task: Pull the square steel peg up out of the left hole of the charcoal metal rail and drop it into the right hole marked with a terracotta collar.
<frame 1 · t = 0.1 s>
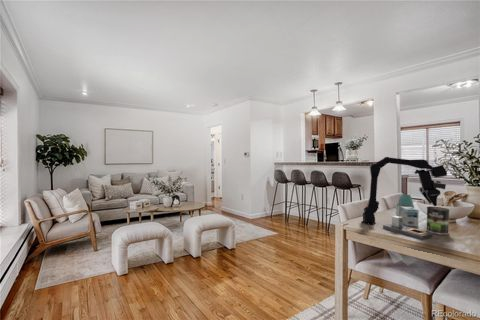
hand: (433, 204, 147), 15 cm above the table, tool pointing down, fingers open, 9 cm apart
light bulb box: (408, 224, 159), on the table
steel peg: (397, 229, 147), resting in rail
rail: (406, 232, 142), on the table
coffee can: (437, 232, 143), on the table
vase: (405, 219, 171), on the table
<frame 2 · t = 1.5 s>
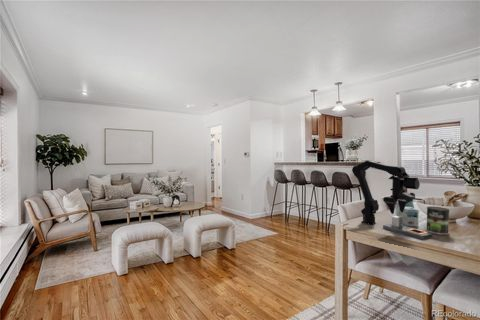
hand: (397, 213, 146), 10 cm above the table, tool pointing down, fingers open, 9 cm apart
nothing on the table moved.
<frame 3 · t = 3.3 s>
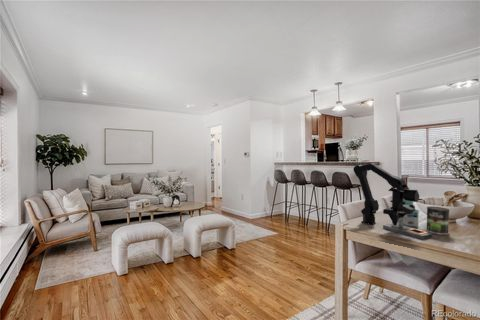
hand: (397, 224, 146), 3 cm above the table, tool pointing down, fingers closed on steel peg, 4 cm apart
steel peg: (397, 229, 147), resting in rail, touching gripper
everything else where it was.
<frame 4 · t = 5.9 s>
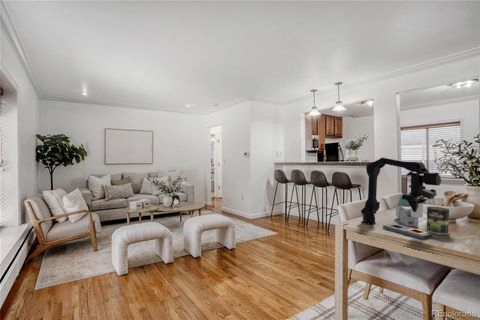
hand: (416, 211, 137), 13 cm above the table, tool pointing down, fingers closed on steel peg, 4 cm apart
steel peg: (416, 216, 137), point 10 cm above the table, touching gripper
everything else where it was.
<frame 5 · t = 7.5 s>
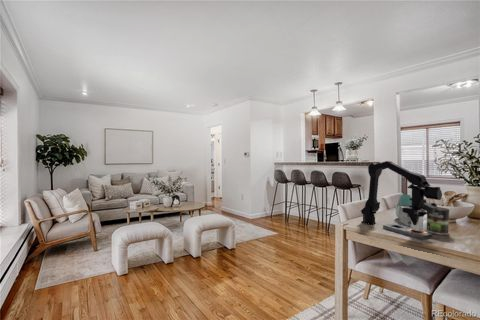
hand: (417, 224, 137), 6 cm above the table, tool pointing down, fingers closed on steel peg, 4 cm apart
steel peg: (416, 229, 137), point 3 cm above the table, touching gripper
everything else where it was.
when the fingers open (4 cm above the table, at t = 8.8 s): steel peg drops 1 cm, resting in rail.
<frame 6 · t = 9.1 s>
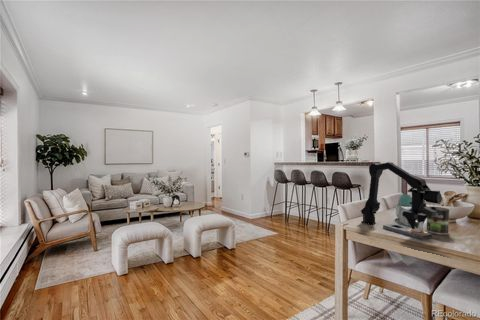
hand: (417, 228, 137), 4 cm above the table, tool pointing down, fingers open, 7 cm apart
steel peg: (416, 235, 137), resting in rail
everything else where it was.
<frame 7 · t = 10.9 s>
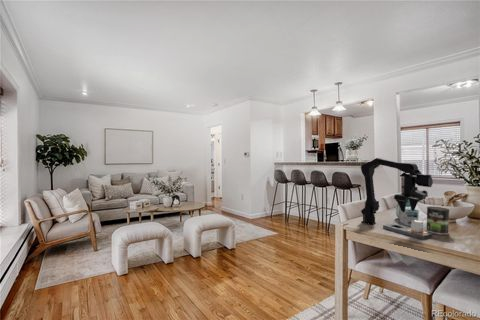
hand: (408, 211, 141), 12 cm above the table, tool pointing down, fingers open, 9 cm apart
nothing on the table moved.
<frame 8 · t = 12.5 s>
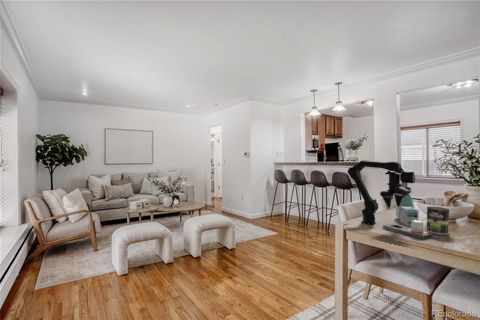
hand: (393, 207, 150), 13 cm above the table, tool pointing down, fingers open, 9 cm apart
nothing on the table moved.
at the end: steel peg 0.0 cm from the target spot on the rail, point 0.0 cm above the rail's base; steel peg tilted 0°; the gripper is holding nothing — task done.
